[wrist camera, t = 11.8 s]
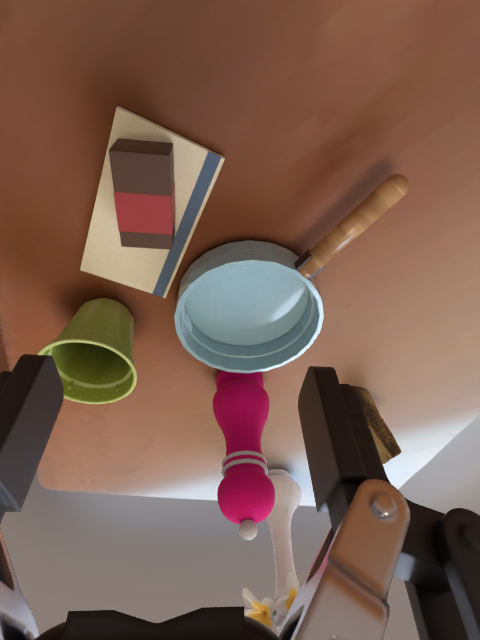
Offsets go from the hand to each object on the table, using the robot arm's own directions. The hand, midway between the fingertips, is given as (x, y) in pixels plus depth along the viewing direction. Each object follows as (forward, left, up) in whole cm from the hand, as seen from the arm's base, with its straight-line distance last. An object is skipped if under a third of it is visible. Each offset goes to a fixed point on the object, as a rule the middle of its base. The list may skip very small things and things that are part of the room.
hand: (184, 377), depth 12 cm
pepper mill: (+25, +15, -25) cm, 39 cm away
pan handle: (0, +14, -22) cm, 26 cm away
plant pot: (+22, -3, -25) cm, 33 cm away
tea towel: (+8, -3, -25) cm, 26 cm away
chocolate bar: (+5, -3, -24) cm, 25 cm away
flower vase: (+48, +34, -25) cm, 64 cm away
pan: (+13, +10, -25) cm, 30 cm away
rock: (+25, +34, -25) cm, 49 cm away
